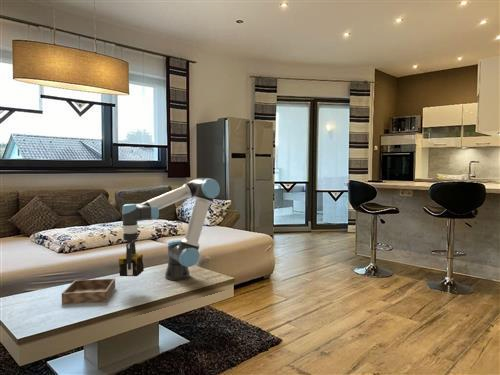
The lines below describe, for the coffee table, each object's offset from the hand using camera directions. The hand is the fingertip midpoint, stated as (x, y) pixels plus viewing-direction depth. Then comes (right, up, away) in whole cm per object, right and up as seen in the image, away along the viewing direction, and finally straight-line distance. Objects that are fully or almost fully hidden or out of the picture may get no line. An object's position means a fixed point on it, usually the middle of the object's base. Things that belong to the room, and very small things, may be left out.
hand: (131, 271), depth 206 cm
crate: (-21, -12, -5) cm, 24 cm away
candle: (0, -1, 0) cm, 1 cm away
